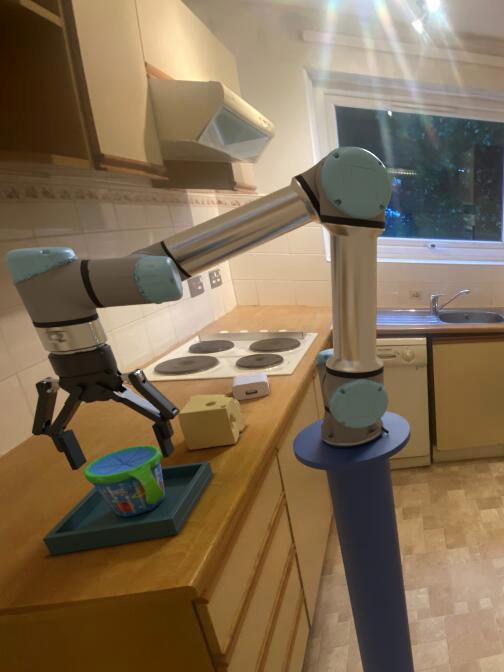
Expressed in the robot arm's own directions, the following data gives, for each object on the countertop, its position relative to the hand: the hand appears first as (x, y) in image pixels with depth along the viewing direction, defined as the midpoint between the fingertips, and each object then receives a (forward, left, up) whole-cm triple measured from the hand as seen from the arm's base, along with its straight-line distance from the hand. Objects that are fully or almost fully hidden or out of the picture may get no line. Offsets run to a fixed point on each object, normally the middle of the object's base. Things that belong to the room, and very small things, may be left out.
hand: (125, 459), depth 78 cm
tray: (0, 0, -11) cm, 11 cm away
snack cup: (0, 0, -10) cm, 10 cm away
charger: (-5, -59, -11) cm, 60 cm away
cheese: (-5, -27, -11) cm, 30 cm away
